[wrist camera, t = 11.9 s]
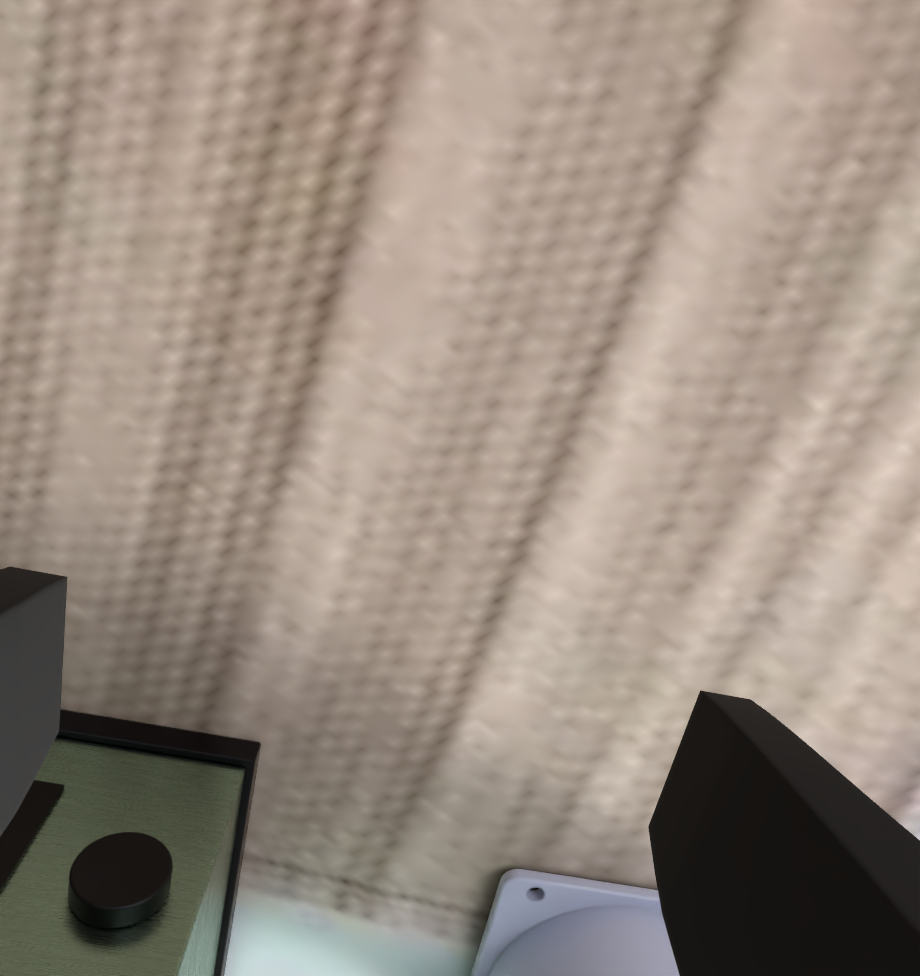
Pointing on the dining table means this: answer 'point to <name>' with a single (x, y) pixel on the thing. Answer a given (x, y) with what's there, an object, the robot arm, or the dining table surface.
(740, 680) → the dining table surface
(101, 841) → the toaster
